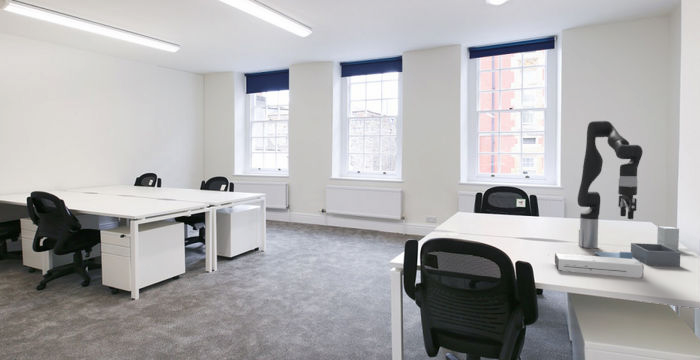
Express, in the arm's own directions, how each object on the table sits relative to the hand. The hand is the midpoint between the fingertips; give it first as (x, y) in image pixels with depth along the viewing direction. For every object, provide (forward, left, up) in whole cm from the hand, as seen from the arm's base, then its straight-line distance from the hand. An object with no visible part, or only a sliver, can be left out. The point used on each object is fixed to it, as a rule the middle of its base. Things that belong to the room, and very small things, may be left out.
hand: (626, 217), depth 191 cm
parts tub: (+17, +11, -24) cm, 31 cm away
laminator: (-17, -14, -25) cm, 33 cm away
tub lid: (0, +9, -24) cm, 26 cm away
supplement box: (+37, +42, -24) cm, 61 cm away
